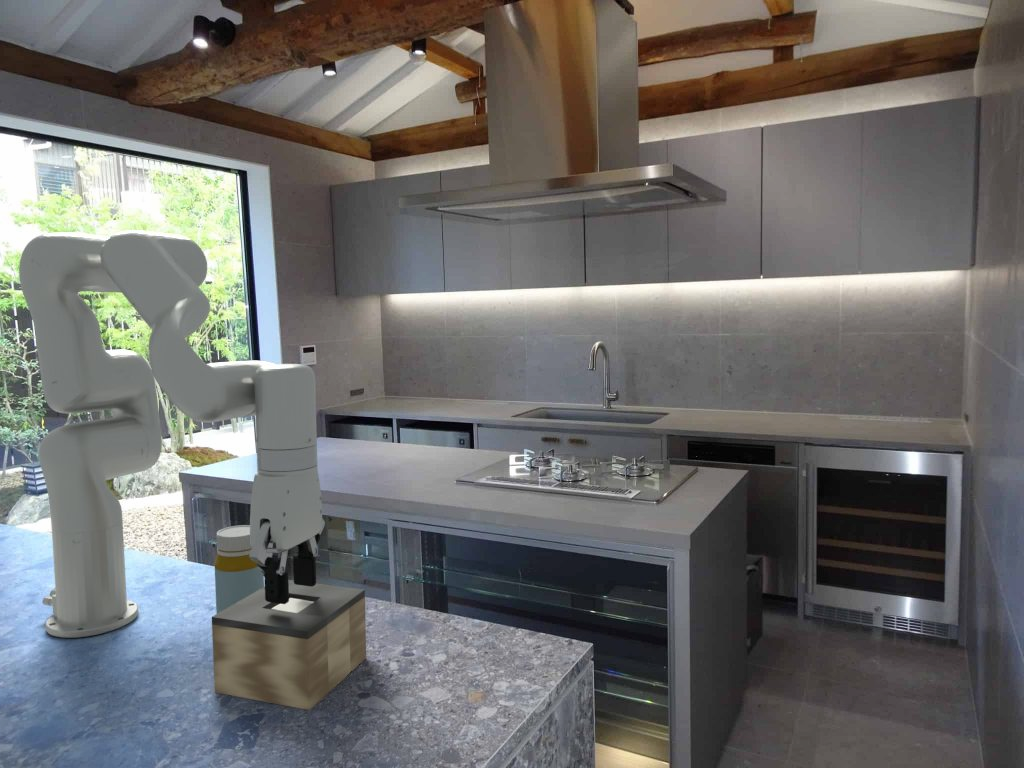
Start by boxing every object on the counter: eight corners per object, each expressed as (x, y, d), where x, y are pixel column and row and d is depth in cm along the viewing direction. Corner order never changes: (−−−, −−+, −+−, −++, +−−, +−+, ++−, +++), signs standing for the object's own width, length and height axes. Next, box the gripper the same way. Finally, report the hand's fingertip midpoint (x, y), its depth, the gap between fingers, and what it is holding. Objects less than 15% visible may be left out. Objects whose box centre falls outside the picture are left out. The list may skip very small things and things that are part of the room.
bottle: (249, 636, 108) (245, 539, 107) (207, 632, 110) (203, 536, 108) (273, 617, 115) (270, 525, 114) (234, 613, 117) (230, 523, 115)
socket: (214, 692, 92) (211, 616, 91) (280, 644, 106) (278, 578, 105) (309, 710, 88) (307, 631, 87) (366, 658, 101) (364, 589, 101)
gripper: (300, 446, 103) (304, 568, 105) (218, 470, 87) (224, 615, 89) (347, 448, 101) (349, 574, 103) (271, 474, 85) (276, 623, 87)
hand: (291, 591), depth 96 cm, fingers open, 5 cm apart
